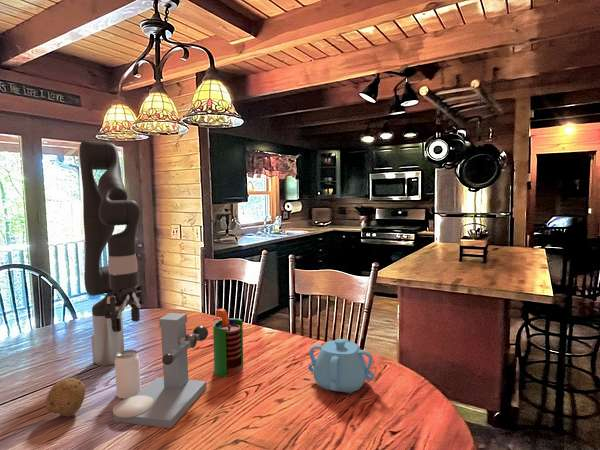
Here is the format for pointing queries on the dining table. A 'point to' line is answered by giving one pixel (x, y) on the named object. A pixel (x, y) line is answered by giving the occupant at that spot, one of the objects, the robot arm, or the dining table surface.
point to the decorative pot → (340, 366)
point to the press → (164, 384)
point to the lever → (186, 344)
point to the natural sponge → (66, 397)
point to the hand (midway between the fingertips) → (126, 326)
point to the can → (127, 374)
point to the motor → (227, 345)
